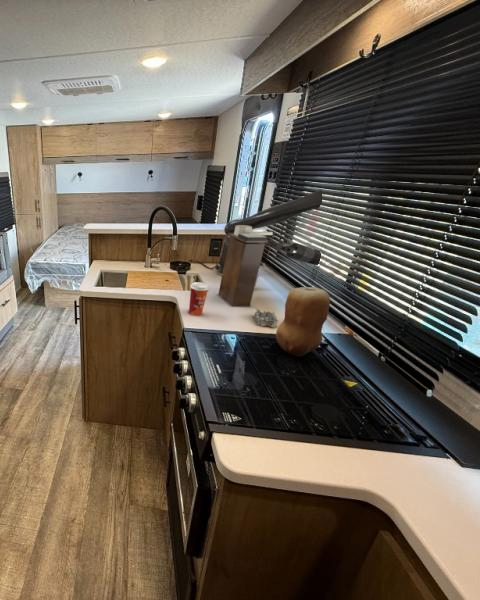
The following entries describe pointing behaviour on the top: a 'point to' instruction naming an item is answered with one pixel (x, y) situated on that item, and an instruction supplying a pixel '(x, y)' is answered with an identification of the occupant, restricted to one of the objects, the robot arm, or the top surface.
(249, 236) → the scale
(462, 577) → the top surface
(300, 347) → the butternut squash
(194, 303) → the paper cup
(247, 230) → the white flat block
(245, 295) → the pedestal
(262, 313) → the grey knobbly lump
